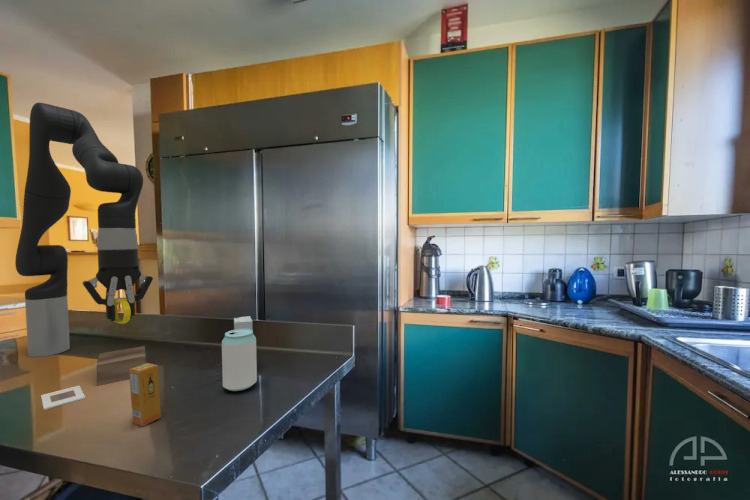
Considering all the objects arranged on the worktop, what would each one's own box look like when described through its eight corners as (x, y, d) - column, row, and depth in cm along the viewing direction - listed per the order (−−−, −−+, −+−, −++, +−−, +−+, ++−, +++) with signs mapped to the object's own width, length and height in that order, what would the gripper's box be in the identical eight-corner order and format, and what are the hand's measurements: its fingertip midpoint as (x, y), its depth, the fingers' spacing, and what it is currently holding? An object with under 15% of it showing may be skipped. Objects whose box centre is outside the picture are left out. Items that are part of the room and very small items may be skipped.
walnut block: (100, 373, 80) (99, 353, 80) (145, 364, 86) (144, 346, 85) (97, 387, 73) (96, 365, 73) (146, 376, 78) (145, 356, 78)
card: (40, 396, 68) (40, 394, 68) (79, 386, 73) (79, 384, 73) (43, 410, 63) (43, 408, 63) (85, 398, 67) (85, 396, 67)
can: (223, 395, 69) (222, 338, 68) (222, 382, 75) (220, 330, 74) (258, 388, 72) (257, 334, 71) (254, 376, 78) (253, 326, 78)
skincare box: (255, 368, 83) (254, 320, 82) (235, 371, 81) (234, 322, 80) (252, 359, 88) (251, 315, 88) (234, 362, 86) (233, 317, 86)
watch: (107, 322, 79) (106, 298, 79) (120, 320, 81) (119, 296, 81) (121, 325, 76) (120, 300, 76) (134, 323, 79) (133, 298, 78)
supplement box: (150, 414, 61) (148, 361, 61) (161, 418, 60) (159, 364, 60) (130, 423, 58) (128, 368, 58) (141, 428, 57) (139, 371, 57)
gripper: (148, 246, 86) (150, 312, 86) (76, 248, 75) (79, 322, 76) (157, 247, 81) (159, 316, 81) (81, 248, 70) (84, 328, 71)
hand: (120, 319), depth 79 cm, fingers closed on watch, 2 cm apart
